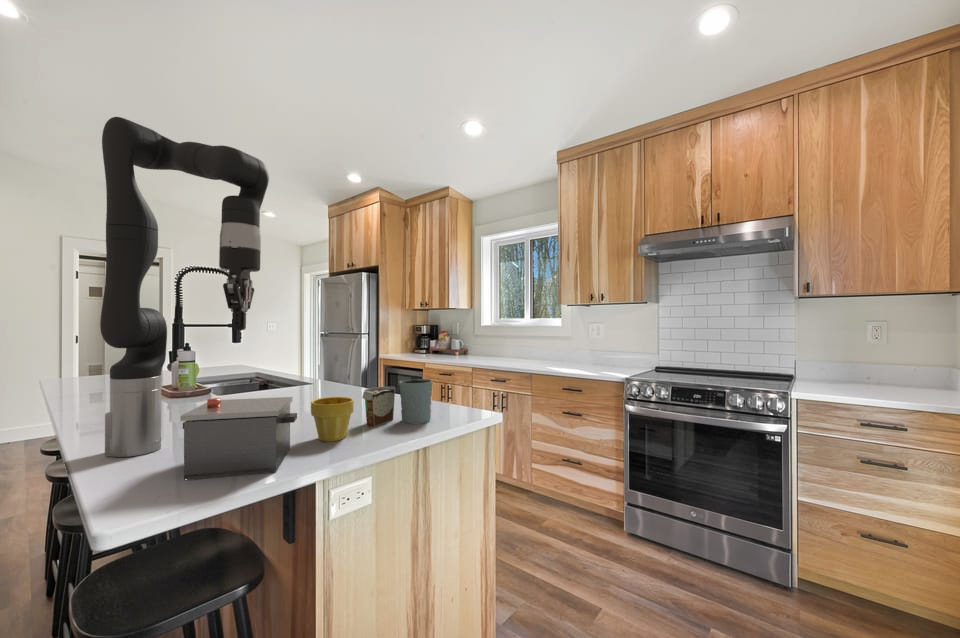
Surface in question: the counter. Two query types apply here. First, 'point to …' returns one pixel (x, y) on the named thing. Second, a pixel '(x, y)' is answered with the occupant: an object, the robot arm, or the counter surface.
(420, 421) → the grey green cup
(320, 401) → the plant pot
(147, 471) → the counter surface
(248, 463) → the grey metal storage bin
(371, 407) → the food container
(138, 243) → the robot arm
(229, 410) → the storage bin lid
